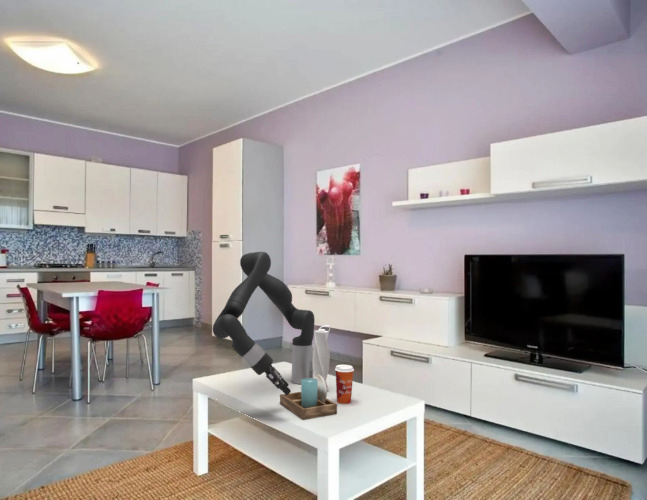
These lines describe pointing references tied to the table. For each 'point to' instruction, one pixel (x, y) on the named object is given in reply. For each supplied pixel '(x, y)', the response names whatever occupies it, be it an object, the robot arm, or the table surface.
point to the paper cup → (344, 383)
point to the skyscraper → (321, 354)
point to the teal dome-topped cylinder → (309, 392)
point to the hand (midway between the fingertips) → (287, 389)
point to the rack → (322, 409)
